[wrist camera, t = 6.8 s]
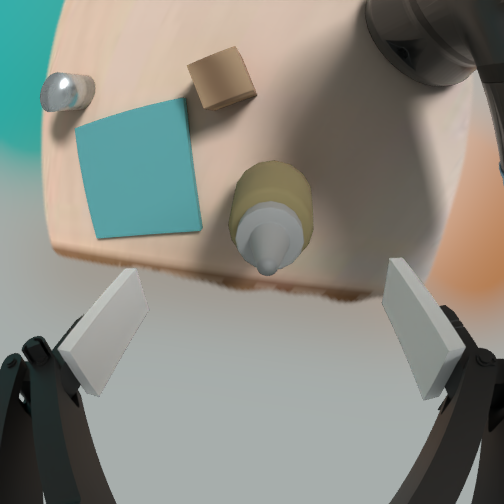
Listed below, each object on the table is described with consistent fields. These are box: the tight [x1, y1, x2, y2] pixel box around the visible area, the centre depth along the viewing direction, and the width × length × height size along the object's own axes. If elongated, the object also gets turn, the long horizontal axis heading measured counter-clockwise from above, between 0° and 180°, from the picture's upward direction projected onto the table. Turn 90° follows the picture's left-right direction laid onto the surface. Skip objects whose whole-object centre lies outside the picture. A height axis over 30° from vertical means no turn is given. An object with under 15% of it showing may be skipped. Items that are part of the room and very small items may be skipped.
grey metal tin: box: [40, 72, 95, 112], centre depth 25 cm, size 5×5×6 cm
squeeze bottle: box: [228, 160, 313, 276], centre depth 24 cm, size 8×8×18 cm
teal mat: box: [75, 98, 203, 238], centre depth 32 cm, size 16×16×1 cm
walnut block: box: [187, 46, 257, 111], centre depth 25 cm, size 5×5×5 cm
